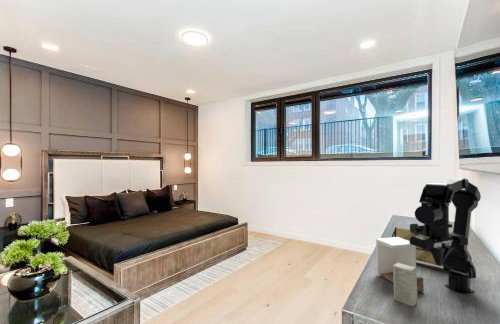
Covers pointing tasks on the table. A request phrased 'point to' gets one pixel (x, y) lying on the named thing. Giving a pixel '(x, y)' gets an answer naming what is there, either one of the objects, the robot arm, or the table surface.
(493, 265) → the table surface
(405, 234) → the clutch purse
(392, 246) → the white upright block
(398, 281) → the skincare box
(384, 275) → the tan wooden paddle
